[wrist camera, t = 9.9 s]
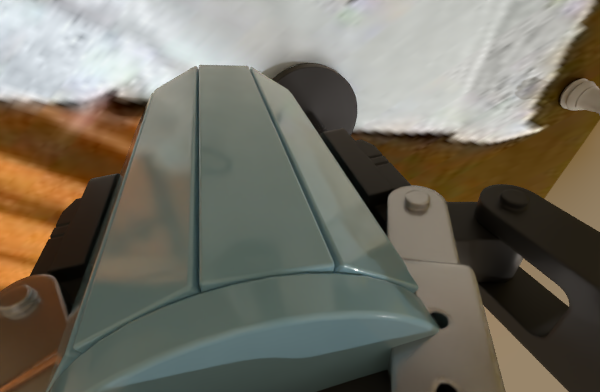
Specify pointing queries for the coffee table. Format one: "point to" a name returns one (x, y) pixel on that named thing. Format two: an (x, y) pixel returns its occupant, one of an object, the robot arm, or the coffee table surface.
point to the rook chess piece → (581, 96)
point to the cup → (235, 255)
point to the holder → (321, 96)
